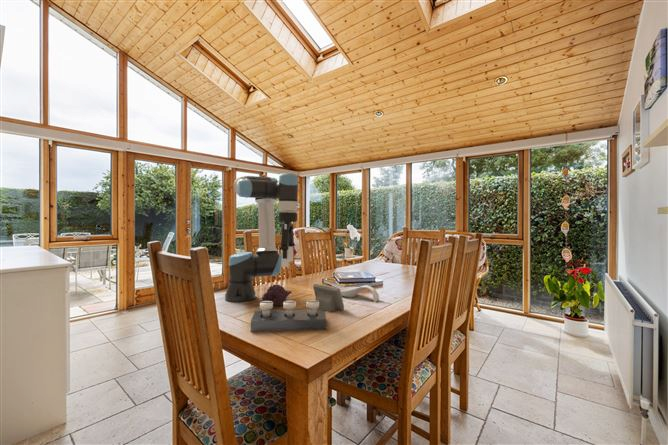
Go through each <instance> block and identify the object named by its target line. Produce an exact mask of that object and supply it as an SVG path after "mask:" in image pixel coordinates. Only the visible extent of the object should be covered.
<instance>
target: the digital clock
mask: <svg viewBox="0 0 668 445" xmlns="http://www.w3.org/2000/svg"><path fill="white" fill-rule="evenodd" d="M312 285H313V291H314V295H315V300H316V301H319V308H317V310H324V311H326V312H329V313H330V312H333V311H335V310H340V311H343V310H344V309H345V305H344V301H343V296H342V295H341V291H340V288H339V287H333V286H330V285H329V286H328V285H325V284H319V283H314V284H312Z"/></svg>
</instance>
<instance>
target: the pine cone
mask: <svg viewBox="0 0 668 445" xmlns="http://www.w3.org/2000/svg"><path fill="white" fill-rule="evenodd" d="M291 294H292V291H291V290H286V289H285V288H284V287H283V286H282V285H280V284H273V285H271V286H269V287H268V288H267V290H266V292H264V294H263V296H262V297H261V301H262V302H263V301H272V302H273V305H276V306H282V305H283V302H285V301H287V298H288V297H289V295H291Z"/></svg>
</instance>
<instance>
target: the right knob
mask: <svg viewBox="0 0 668 445" xmlns="http://www.w3.org/2000/svg"><path fill="white" fill-rule="evenodd" d="M305 303H306V304H305V305H306V308H307V309H308V310H309V316H316V310H317V309H318V308H319V301H316V299H313V300H310V299H309V300H307V301H306V302H305Z"/></svg>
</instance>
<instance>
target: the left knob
mask: <svg viewBox="0 0 668 445" xmlns="http://www.w3.org/2000/svg"><path fill="white" fill-rule="evenodd" d="M273 308H274V304H273V302H272V301H263V300H262V301H260V302H259V309H260V310H261V311H262V317H270V311H271V310H272V309H273Z"/></svg>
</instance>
